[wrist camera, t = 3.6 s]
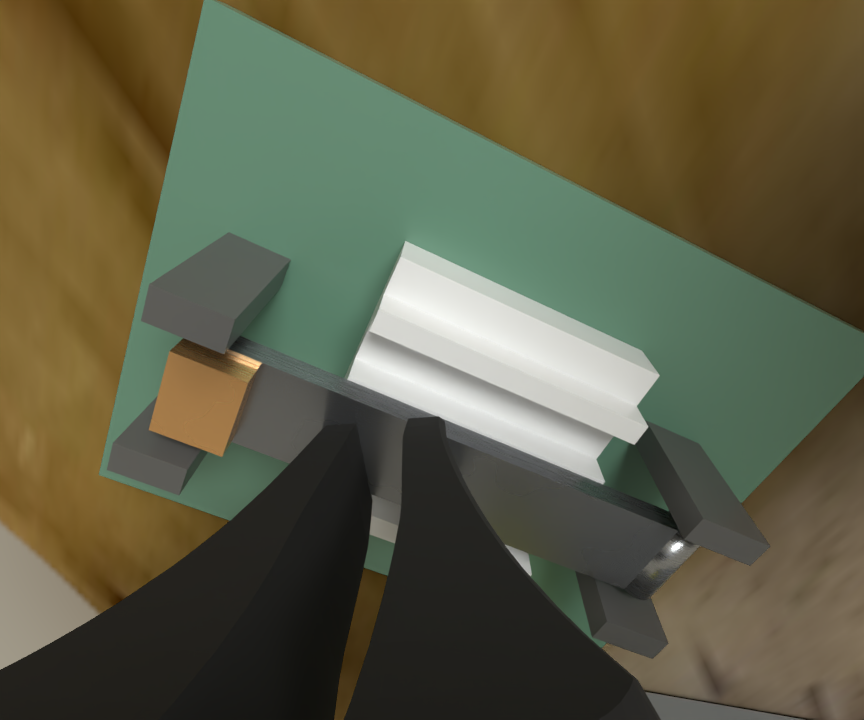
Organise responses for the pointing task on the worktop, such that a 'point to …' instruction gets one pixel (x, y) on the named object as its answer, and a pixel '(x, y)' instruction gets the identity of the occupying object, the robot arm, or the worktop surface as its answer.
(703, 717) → the electrical component
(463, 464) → the bar
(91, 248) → the worktop surface
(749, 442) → the heatsink base
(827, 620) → the worktop surface
